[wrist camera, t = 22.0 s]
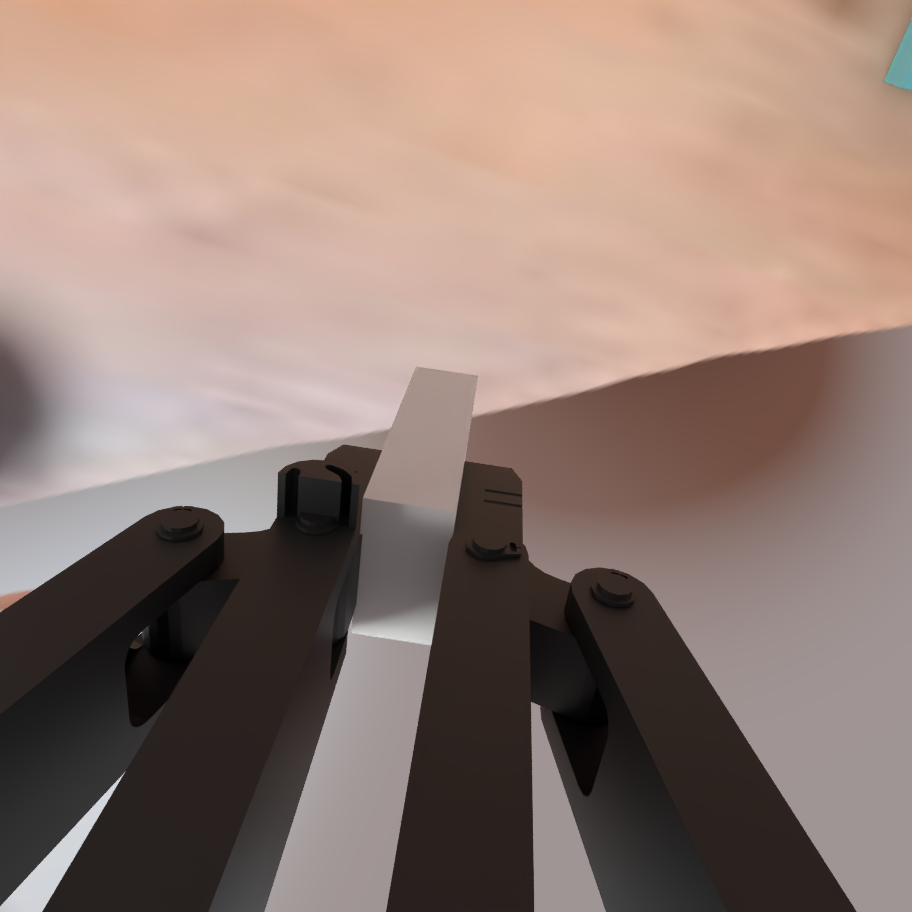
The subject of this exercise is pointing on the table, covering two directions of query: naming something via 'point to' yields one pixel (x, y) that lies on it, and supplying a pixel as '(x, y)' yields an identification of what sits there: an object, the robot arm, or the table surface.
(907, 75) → the teal domino
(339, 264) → the table surface
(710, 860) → the robot arm
